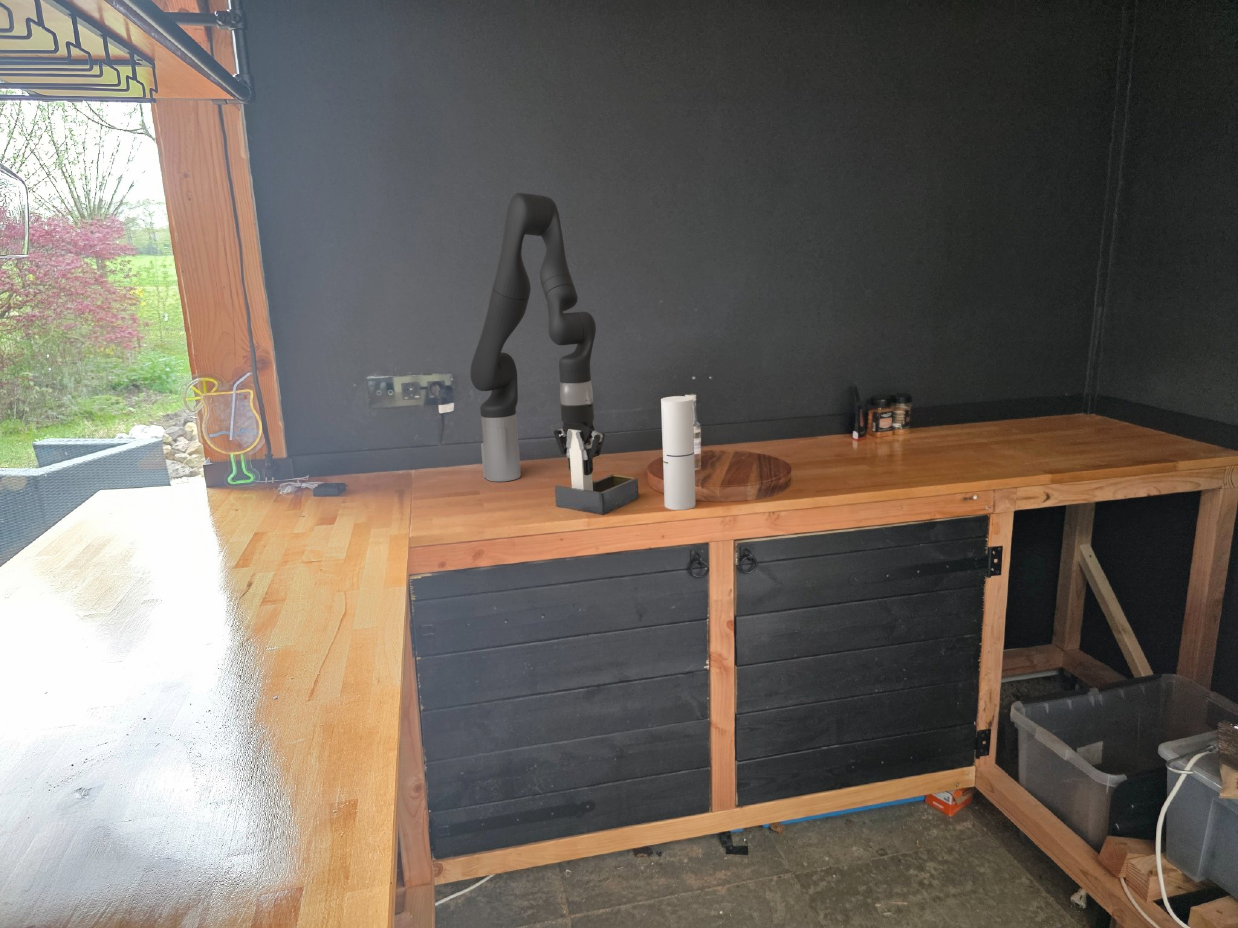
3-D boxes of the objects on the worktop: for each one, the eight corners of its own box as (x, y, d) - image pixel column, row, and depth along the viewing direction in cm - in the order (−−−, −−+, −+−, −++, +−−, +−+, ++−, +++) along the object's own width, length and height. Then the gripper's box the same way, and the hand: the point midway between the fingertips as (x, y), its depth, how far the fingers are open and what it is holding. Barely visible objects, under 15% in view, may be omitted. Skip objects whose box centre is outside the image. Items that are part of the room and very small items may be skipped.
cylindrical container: (684, 511, 190) (681, 402, 184) (658, 507, 194) (654, 400, 188) (701, 503, 196) (698, 397, 189) (675, 499, 200) (672, 395, 194)
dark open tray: (556, 506, 199) (554, 486, 197) (593, 490, 210) (591, 471, 209) (602, 514, 191) (601, 493, 189) (638, 498, 202) (637, 478, 201)
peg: (572, 496, 198) (568, 429, 194) (581, 492, 200) (577, 426, 196) (584, 498, 196) (580, 430, 192) (593, 494, 198) (589, 427, 194)
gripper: (542, 401, 193) (547, 474, 198) (591, 405, 185) (595, 481, 190) (563, 396, 199) (568, 466, 204) (611, 400, 191) (615, 473, 195)
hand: (581, 473), depth 197 cm, fingers closed on peg, 3 cm apart
